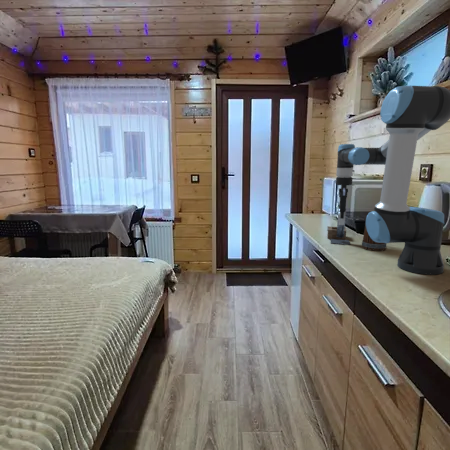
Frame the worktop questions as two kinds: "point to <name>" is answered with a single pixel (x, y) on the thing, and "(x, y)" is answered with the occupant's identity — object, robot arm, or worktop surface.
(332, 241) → the mat
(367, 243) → the mug
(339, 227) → the peg
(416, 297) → the worktop surface
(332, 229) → the block
